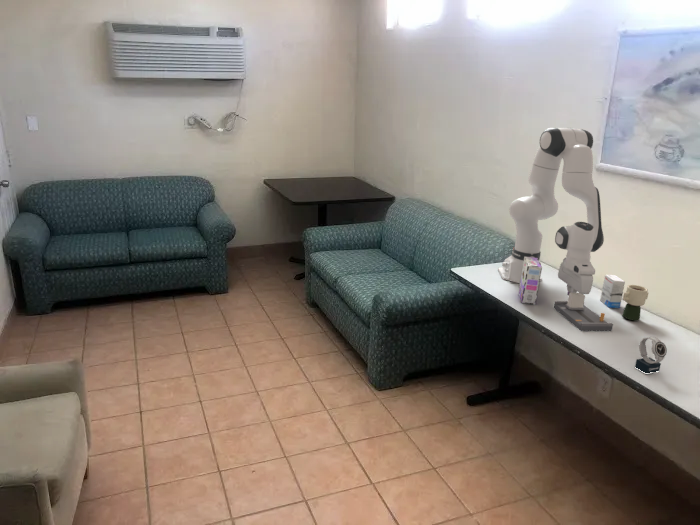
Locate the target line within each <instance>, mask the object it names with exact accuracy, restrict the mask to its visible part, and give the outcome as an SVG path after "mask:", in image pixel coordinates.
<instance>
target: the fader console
mask: <svg viewBox="0 0 700 525" xmlns="http://www.w3.org/2000/svg"><path fill="white" fill-rule="evenodd" d="M567 303H568V300H555V301H554V303H553V309H554V310H555V311H557V312H558V313H559V314H560V315H561V316H562V317H563V318H565V319H566V320H567V321H569V323H571V324H572V325H573V326H574V327H575V328H576V329H577V330H579V331H580V332H612V331H613V325H614V324H613V322H608V321H606V320H605V315H606V313H604V312H601V313H600V315H598V314H597V313H595V312H594V311H593V310H591V309H590V308H588V306H586V305H585V303H584V304H583V307H584V308H585V309H584V310H570V309H568V308H567V307H566V306H565V304H567Z"/></svg>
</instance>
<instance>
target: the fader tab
mask: <svg viewBox="0 0 700 525" xmlns="http://www.w3.org/2000/svg"><path fill="white" fill-rule="evenodd" d="M567 298H568V299H567V301H568V303H567V304H565V306H566V307H567V308H568V309H570V310H584V309H585V308H584V307H583V304H584V305H585V298H586V294H580V293H579V292H577V293H569V296H568V297H567Z"/></svg>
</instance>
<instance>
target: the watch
mask: <svg viewBox="0 0 700 525" xmlns="http://www.w3.org/2000/svg"><path fill="white" fill-rule="evenodd" d="M648 340H651V345H652V346H651V352H652V354H653V356H654V358H655V359H653V358H652V357H651V356H649V357H648V352H647V351H648V350H647V345H646V342H647V341H648ZM638 347H639V348H638V349H639V350H638V351H639V354H640V357H641V358H636V361H635V365H634V368H635V367H636V368H638V369H640V370H641V371H643V372H645V373H650V372H656V371H659V372H660V370H661V365H662V363H661V362H662V361H664V359H665V358H666V355H667V353H668V349H667V346H666V344H665V342H662V341H661V339H659V338H658V337H655V336H648V337H644V338H642V339H641V340H640V341H639V345H638ZM641 371H640V372H641Z"/></svg>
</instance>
